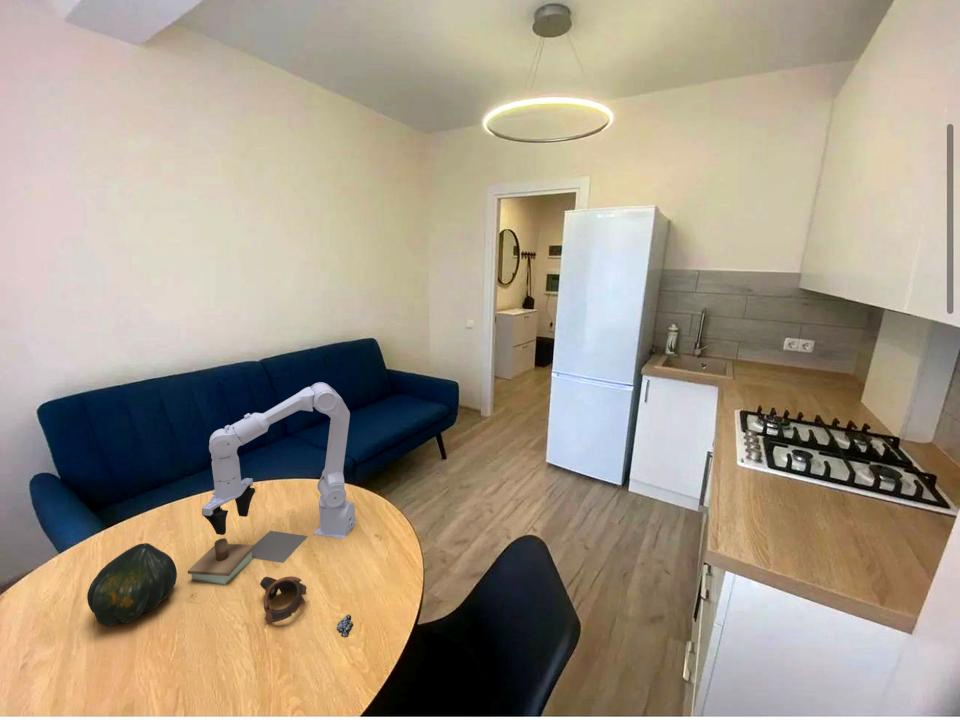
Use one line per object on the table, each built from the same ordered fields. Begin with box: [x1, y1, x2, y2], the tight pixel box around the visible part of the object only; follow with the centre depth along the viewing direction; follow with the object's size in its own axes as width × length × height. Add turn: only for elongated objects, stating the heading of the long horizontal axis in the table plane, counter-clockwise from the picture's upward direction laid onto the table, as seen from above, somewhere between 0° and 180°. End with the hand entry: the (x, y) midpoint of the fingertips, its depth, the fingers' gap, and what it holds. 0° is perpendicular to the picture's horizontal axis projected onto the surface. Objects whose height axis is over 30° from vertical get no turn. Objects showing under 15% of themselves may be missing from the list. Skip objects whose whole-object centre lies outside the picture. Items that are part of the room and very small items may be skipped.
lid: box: [187, 537, 255, 576], centre depth 97 cm, size 10×10×5 cm
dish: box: [190, 551, 253, 586], centre depth 98 cm, size 9×9×3 cm
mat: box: [252, 530, 309, 564], centre depth 108 cm, size 12×11×1 cm
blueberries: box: [336, 614, 354, 638], centre depth 84 cm, size 7×8×2 cm
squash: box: [86, 542, 178, 627], centre depth 86 cm, size 14×15×15 cm
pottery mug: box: [259, 575, 308, 624], centre depth 88 cm, size 12×10×8 cm
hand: (232, 524), depth 101 cm, fingers open, 7 cm apart
